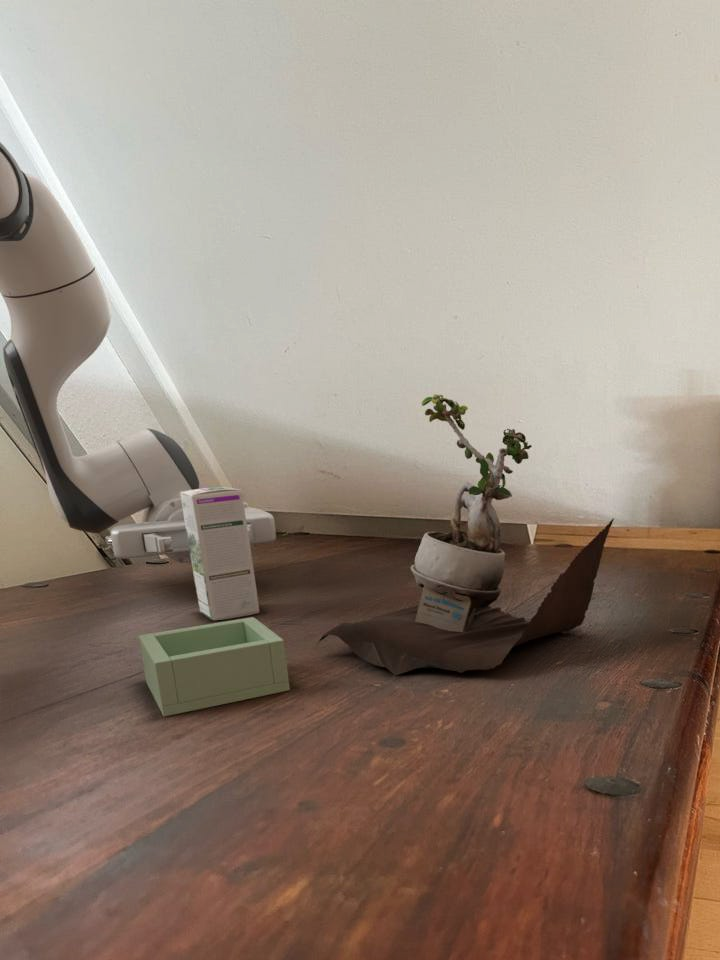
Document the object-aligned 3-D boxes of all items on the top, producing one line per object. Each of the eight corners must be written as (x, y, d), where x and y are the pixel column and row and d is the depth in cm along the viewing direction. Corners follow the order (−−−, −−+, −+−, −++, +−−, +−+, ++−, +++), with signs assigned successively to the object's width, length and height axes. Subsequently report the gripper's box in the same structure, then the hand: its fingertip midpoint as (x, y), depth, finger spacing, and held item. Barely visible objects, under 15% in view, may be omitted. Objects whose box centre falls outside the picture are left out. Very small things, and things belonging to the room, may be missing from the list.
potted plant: (430, 631, 88) (488, 410, 81) (572, 696, 79) (650, 454, 72) (303, 647, 71) (363, 371, 65) (464, 732, 62) (553, 422, 56)
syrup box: (261, 613, 90) (245, 487, 86) (210, 622, 87) (191, 492, 83) (245, 605, 95) (229, 485, 91) (197, 613, 92) (178, 490, 88)
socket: (163, 716, 59) (154, 663, 57) (146, 683, 67) (138, 635, 66) (290, 690, 63) (284, 640, 62) (259, 661, 71) (253, 616, 70)
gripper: (99, 514, 100) (109, 523, 89) (256, 500, 110) (284, 507, 98) (107, 562, 102) (118, 577, 90) (262, 544, 112) (289, 556, 100)
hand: (206, 540), depth 94 cm, fingers open, 8 cm apart
